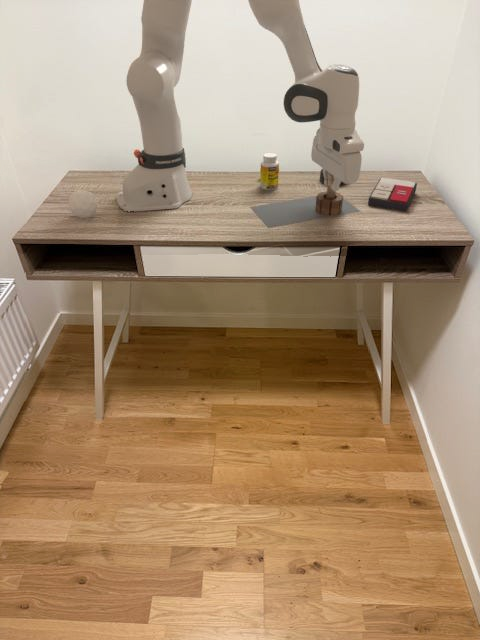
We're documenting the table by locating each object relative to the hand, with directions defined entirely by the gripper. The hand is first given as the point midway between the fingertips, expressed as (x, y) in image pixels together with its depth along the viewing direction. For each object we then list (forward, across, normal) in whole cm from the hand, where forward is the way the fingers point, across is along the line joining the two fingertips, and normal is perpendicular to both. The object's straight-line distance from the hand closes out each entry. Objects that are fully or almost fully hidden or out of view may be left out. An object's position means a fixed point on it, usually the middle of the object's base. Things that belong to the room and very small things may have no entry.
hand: (331, 187), depth 133 cm
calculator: (+8, 0, +21) cm, 22 cm away
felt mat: (+7, -3, -6) cm, 10 cm away
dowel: (+4, 0, 0) cm, 4 cm away
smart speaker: (+7, -19, +12) cm, 24 cm away
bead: (+7, 0, 0) cm, 7 cm away
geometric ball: (+7, -22, -65) cm, 69 cm away
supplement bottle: (+7, -22, -9) cm, 25 cm away
